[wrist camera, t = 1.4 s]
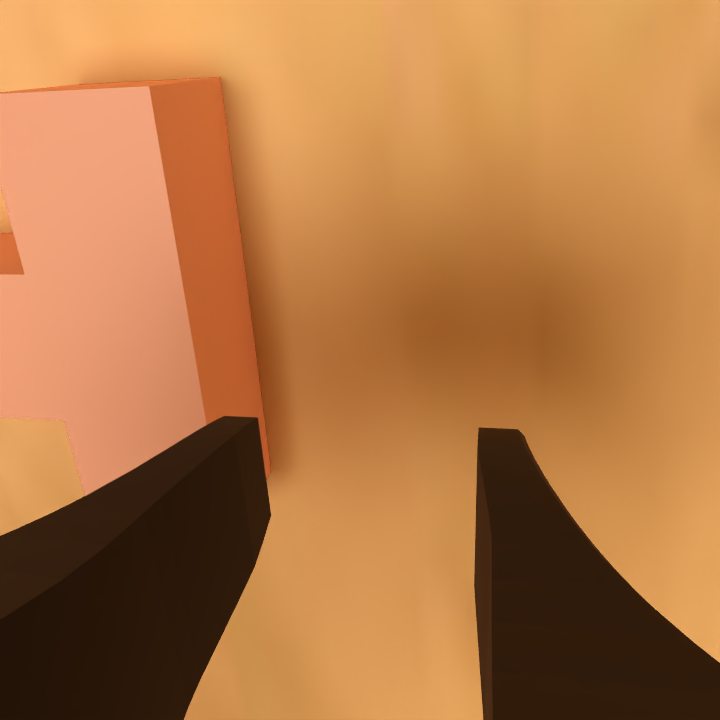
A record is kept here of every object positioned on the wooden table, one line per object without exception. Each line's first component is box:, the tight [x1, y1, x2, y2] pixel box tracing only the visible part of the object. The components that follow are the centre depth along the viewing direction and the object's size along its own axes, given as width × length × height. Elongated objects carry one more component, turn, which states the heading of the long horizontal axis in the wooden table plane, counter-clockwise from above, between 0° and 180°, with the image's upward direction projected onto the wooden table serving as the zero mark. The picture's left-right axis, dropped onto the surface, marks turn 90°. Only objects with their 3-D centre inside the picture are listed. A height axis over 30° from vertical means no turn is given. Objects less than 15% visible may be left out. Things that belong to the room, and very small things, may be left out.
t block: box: [0, 77, 271, 496], centre depth 19 cm, size 12×12×4 cm
